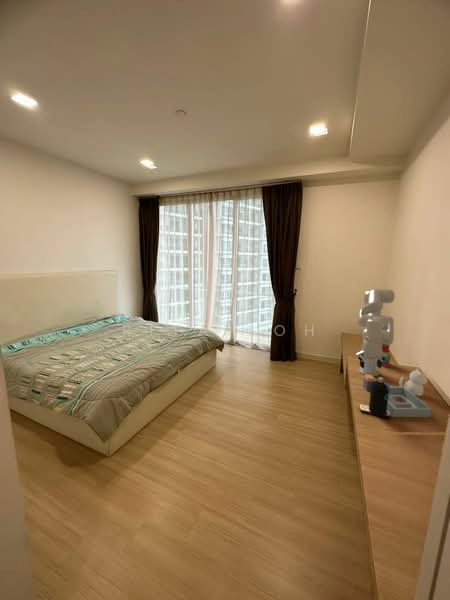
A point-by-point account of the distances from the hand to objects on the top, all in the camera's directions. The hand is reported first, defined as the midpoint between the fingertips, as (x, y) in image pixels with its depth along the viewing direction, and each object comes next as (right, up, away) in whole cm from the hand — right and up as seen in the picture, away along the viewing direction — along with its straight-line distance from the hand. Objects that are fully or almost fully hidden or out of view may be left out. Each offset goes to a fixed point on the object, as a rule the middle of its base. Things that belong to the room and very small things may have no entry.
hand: (370, 367), depth 140 cm
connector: (+1, -15, +3) cm, 15 cm away
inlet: (+8, -17, -12) cm, 22 cm away
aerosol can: (-7, -19, -17) cm, 26 cm away
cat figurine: (+24, -15, -1) cm, 28 cm away
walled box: (+8, -18, -12) cm, 23 cm away
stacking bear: (+30, -8, +35) cm, 47 cm away
